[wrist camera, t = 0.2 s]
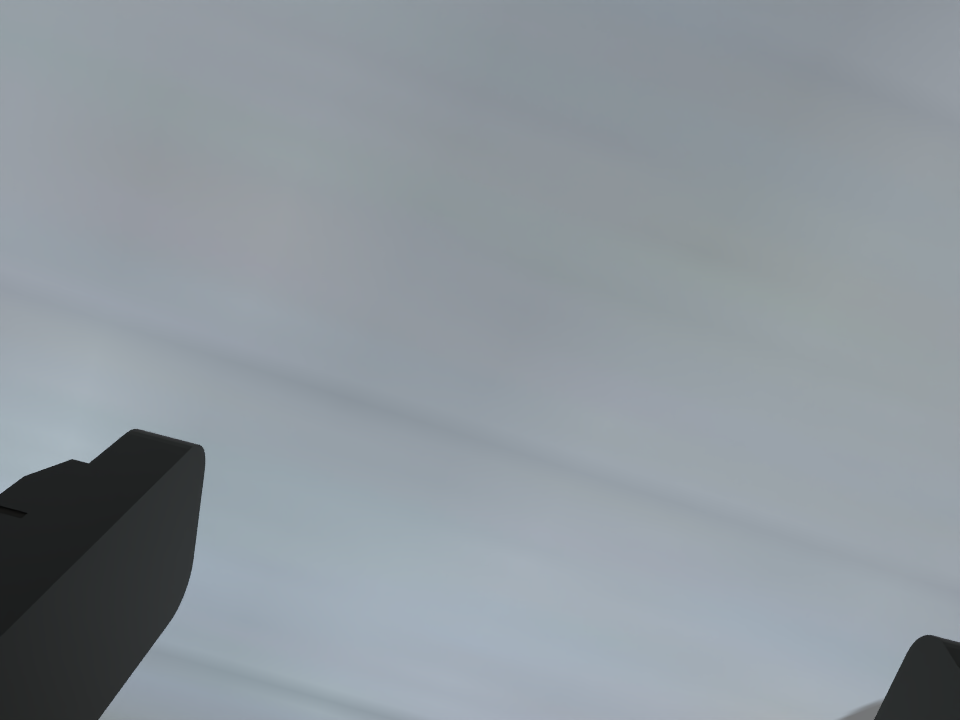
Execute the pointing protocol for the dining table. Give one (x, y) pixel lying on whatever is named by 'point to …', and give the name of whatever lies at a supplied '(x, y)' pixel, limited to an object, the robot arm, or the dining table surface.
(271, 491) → the dining table surface
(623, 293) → the dining table surface
